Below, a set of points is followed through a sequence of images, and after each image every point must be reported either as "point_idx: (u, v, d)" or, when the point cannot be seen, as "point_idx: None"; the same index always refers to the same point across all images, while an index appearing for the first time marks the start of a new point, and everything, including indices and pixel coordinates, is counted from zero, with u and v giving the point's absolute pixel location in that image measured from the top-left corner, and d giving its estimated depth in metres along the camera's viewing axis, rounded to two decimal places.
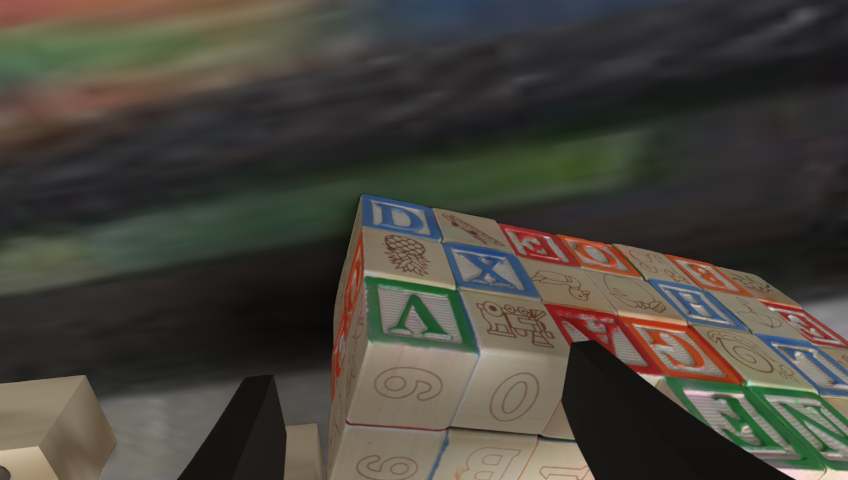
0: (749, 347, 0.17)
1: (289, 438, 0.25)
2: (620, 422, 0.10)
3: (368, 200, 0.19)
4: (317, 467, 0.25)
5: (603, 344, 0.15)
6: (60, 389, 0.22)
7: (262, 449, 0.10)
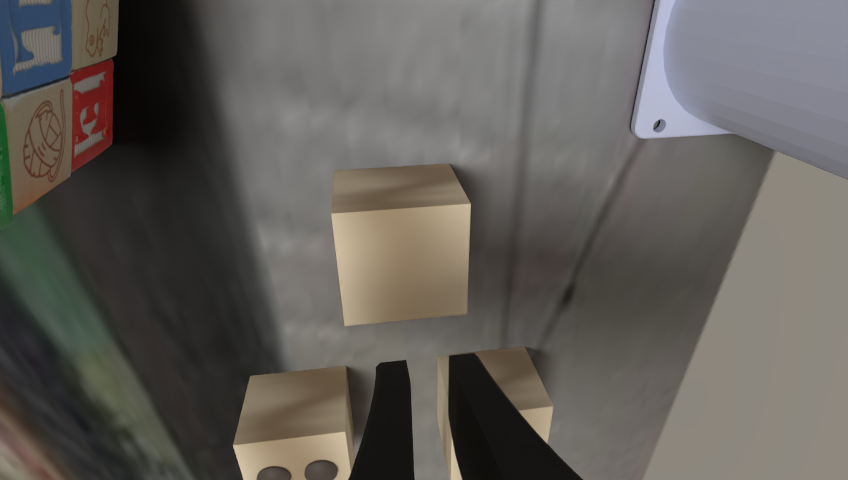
0: None
1: None
2: (475, 441, 0.09)
3: None
4: (366, 186, 0.17)
5: None
6: None
7: None
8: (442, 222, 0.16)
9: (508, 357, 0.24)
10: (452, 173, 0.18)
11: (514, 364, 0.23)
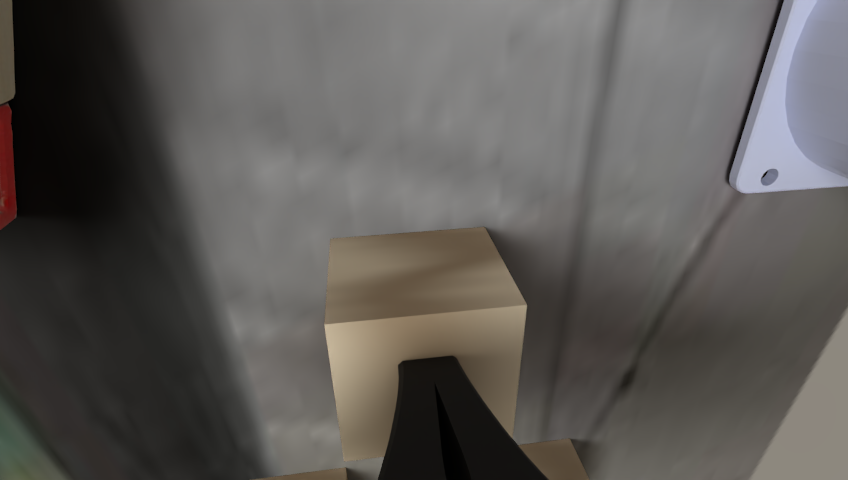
0: None
1: None
2: (450, 444, 0.09)
3: None
4: (374, 269, 0.12)
5: None
6: None
7: None
8: (484, 330, 0.11)
9: (550, 455, 0.19)
10: (491, 244, 0.13)
11: (559, 466, 0.18)
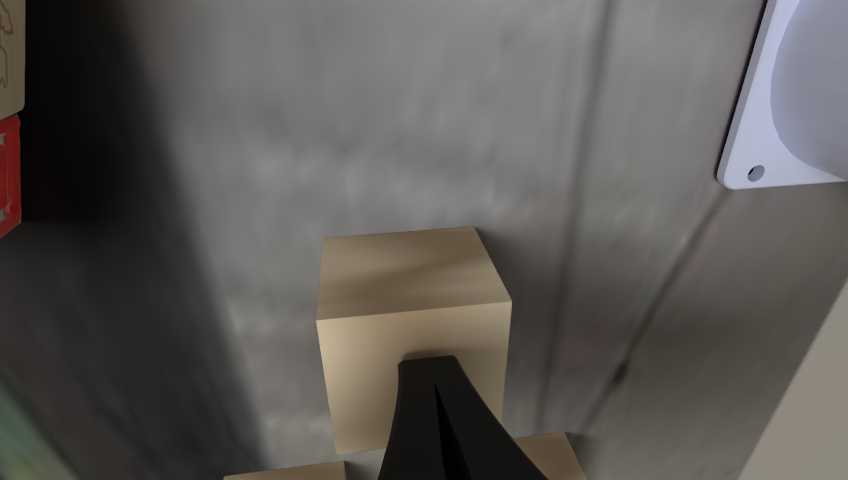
0: None
1: None
2: (450, 444, 0.09)
3: None
4: (365, 267, 0.13)
5: None
6: None
7: None
8: (471, 325, 0.11)
9: (545, 448, 0.19)
10: (480, 243, 0.14)
11: (553, 458, 0.19)
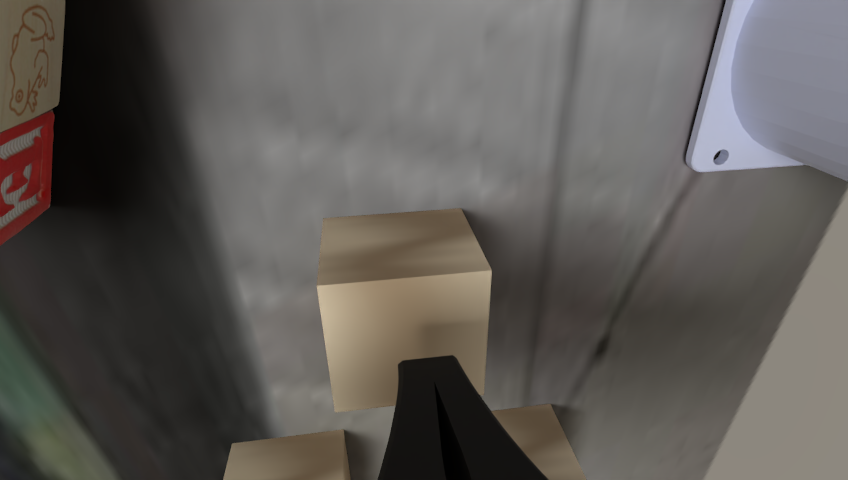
0: None
1: None
2: (450, 444, 0.09)
3: None
4: (361, 243, 0.14)
5: None
6: None
7: None
8: (456, 292, 0.13)
9: (532, 418, 0.20)
10: (465, 223, 0.15)
11: (539, 427, 0.20)
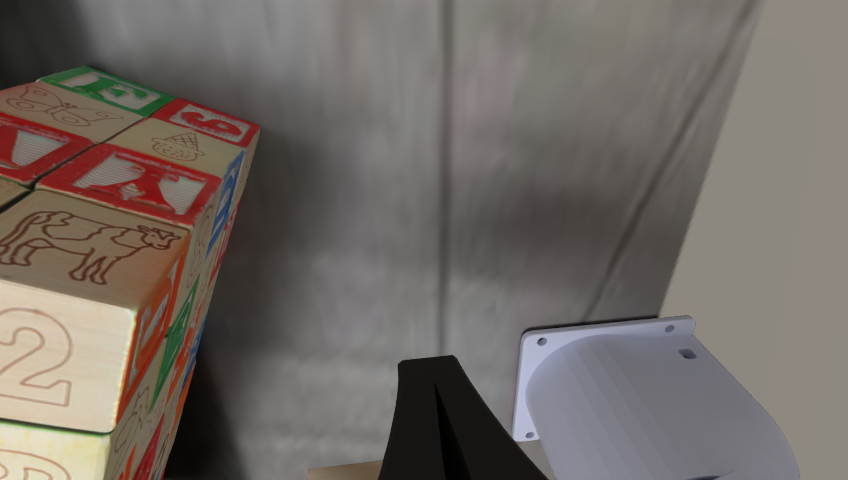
0: None
1: None
2: (450, 444, 0.09)
3: None
4: None
5: None
6: None
7: None
8: None
9: None
10: None
11: None
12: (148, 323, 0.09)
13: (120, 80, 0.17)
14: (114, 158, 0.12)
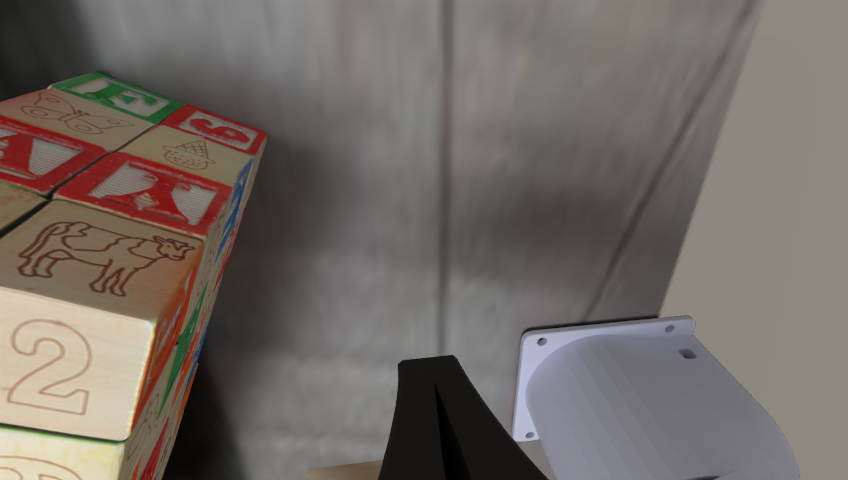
0: None
1: None
2: (450, 444, 0.09)
3: None
4: None
5: None
6: None
7: None
8: None
9: None
10: None
11: None
12: (164, 333, 0.09)
13: (129, 86, 0.17)
14: (127, 166, 0.12)
